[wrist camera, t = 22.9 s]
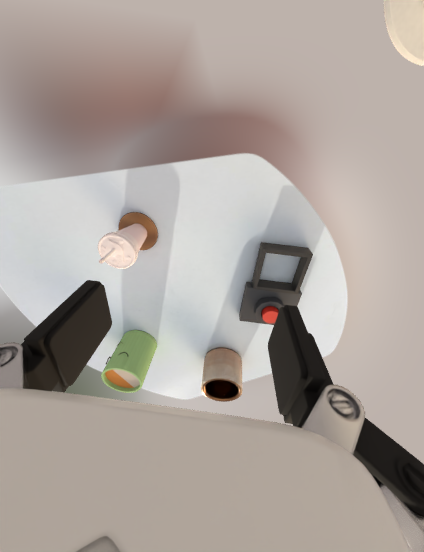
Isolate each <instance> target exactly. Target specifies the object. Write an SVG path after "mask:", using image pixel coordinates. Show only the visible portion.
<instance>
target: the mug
mask: <svg viewBox="0 0 424 552" xmlns="http://www.w3.org/2000/svg"><path fill="white" fill-rule="evenodd" d="M156 348H157V343H156V341H155V339H154V338H153V337H152V336H151V335H150V334H148V333H146V332H143V331H139V330H131V331H128V332H126V333H125V334H124V336H123V337H122V339H121V341H120V343H119V344H118V345H117V348H116V350H115V351H114V353H113V355H112V357H109V358H110V360H109V358H108V360H109V362H108V360H107V362H108V364H107V362H106V364H107V365H106V367H105V369H104V370H103V372H102V374H101V378H102V380H103V382H104V383H105V384H106V385H107V386H109V387H110V388H112V389H114V390H117V391H120V392H125V393H132V392H136V391H138V390H140V389H141V387H142V385H143V382H144V379H145V377H146V374H147V371H148V369H149V366H150V363H151V361H152V358H153V355H154V353H155V350H156Z"/></svg>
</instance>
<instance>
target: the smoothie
mask: <svg viewBox="0 0 424 552" xmlns="http://www.w3.org/2000/svg"><path fill="white" fill-rule="evenodd" d="M146 237H147V230H146V229H145V227H144V226H142V225H141V224H133V225H130V226H128V227H126V228H124V229H121V230H119V231H117V232H112V233H108V234H106V235H104V236H103V237H102V238H101V239H100V241H99V243H98V251H99V254H100V256H101V257H102V259H100V260H99V263H101V264H102V263H103V262H104V261H105V262H106V263H107V264H109V265H110V266H112V267H115V268H119V269H124V268H128V267H130V266H131V265H132V264H133V263H134V262H135V261H136V259H137V255H138V252H139V250H140V248H141V246H142V245H143V243H144V241H145V239H146Z"/></svg>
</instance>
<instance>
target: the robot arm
mask: <svg viewBox="0 0 424 552" xmlns="http://www.w3.org/2000/svg"><path fill="white" fill-rule="evenodd" d="M422 2H423V7H424V0H422ZM111 325H112V320H111V315H110V311H109V306H108V302H107V297H106V292H105V288H104V285H102V284H101V283H100V282H99V281H91V280H87V281H86V282H85V283H84V284H83V285H82V286H80V287H79V288H78V289H77V290H76V291H75V292H74V293H73V294H72V295H71V296H70V297H69V298H68V299H66V300H65V301H64V302H63V303H62V304H61V305H60V306H59V307H58V308H57V309H56V310H55V311H53V312H52V313H51V314H50V315H49V316H48V317H47V318H46V319H45V320H44V321H43V322H42V323H41V324H39V325H38V326H37V327H36V328H35V329H34V330H33V331H32V332H31V333H30V334H29V335H28V336H27V337H26V338H24V340H25V341H24V342H23V343H22V344H21V345H20V344H19V343H15V342H13V343H4V344H0V552H424V464H423V463H421V462H420V461H419V460H418V459H417V458H415V457H414V456H413V455H412V454H410V453H409V452H408V451H406V450H405V449H404V448H403V447H401V446H400V445H399V444H398V443H396V442H395V441H394V440H393V439H391V438H390V437H389V436H387V435H386V434H385V433H384V432H382V431H381V430H380V429H379V428H378V427H376V426H375V425H374V424H372V423H371V422H370V421H369V420H368V419H366V418H365V411H364V408H363V406H362V404H361V402H360V401H359V399H358V398H357V397H356V396H355V395H354V394H353V393H352V392H350V391H349V390H347V389H346V388H344V387H342V386H338V385H333V382H332V380H331V378H330V376H329V373H328V370H327V368H326V366H325V363H324V361H323V359H322V356H321V354H320V352H319V349H318V347H317V344H316V342H315V340H314V337H313V336H312V334H310V333H308V332H307V329H306V327H305V324H304V322H303V320H302V317H301V315H300V312H299V310H298V307H297V306H292V305H284V307H281V308H280V310H279V313H278V316H277V318H276V321H275V324H274V327H273V330H272V333H271V336H270V339H269V342H268V351H269V357H270V362H271V368H272V374H273V379H274V385H275V391H276V397H277V402H278V408H279V412H280V414H282V415H283V416H284V421H285V423H291V424H293V426H291V425H286V424H281V423H276V422H270V421H264V420H257V419H251V418H245V417H238V416H232V415H224V414H217V413H210V412H203V411H195V410H189V409H182V408H175V407H167V406H160V405H152V404H145V403H138V402H131V401H123V400H116V399H108V398H100V397H93V396H85V395H77V394H70V393H64V392H65V391H66V389H67V388H68V386H71V385H72V384H73V383H74V382H75V380H76V379H77V377H78V376H79V374H80V373H81V371H82V370H83V368H84V367H85V365H86V364H87V362H88V361H89V359H90V358H91V356H92V355H93V354H94V352H95V351H96V349H97V348H98V346H99V345H100V343H101V342H102V340H103V339H104V337H105V336H106V334H107V333H108V331H109V330H110V328H111ZM52 391H55V392H52ZM61 392H63V393H61Z"/></svg>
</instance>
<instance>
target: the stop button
mask: <svg viewBox="0 0 424 552" xmlns="http://www.w3.org/2000/svg"><path fill="white" fill-rule="evenodd" d="M278 313H279V312H278V309H277V308H276V307H274V306H267V307H265V308H264V309H263V310H262V317H263V320H264V321H265V322H266V323H275V321H276V318H277V316H278Z"/></svg>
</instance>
